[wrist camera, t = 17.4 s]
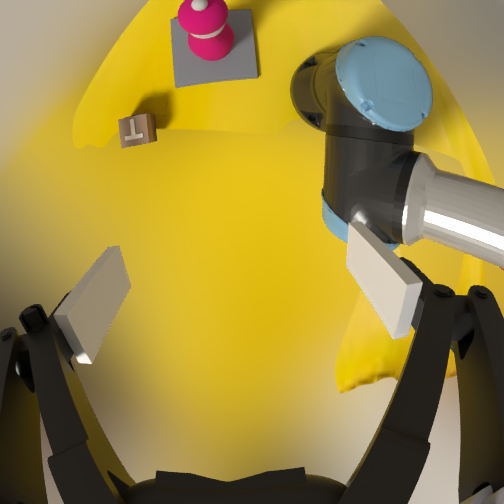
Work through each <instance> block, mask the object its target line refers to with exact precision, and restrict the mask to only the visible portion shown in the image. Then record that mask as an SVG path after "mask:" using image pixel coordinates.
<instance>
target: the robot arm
mask: <svg viewBox="0 0 504 504" xmlns="http://www.w3.org/2000/svg"><path fill="white" fill-rule="evenodd" d="M290 93H291V99H292V102H293V105H294V107H295V109H296V111H297V113H298V114H299V115H300V117H301V118H302V119H303V120H304V121H305V122H306V123H308V124H309V125H310V126H312V127H313V128H315V129H317V130H320V131H323V132H326V140H325V166H324V186H323V189H322V192H321V196H322V200H323V208H322V210H323V211H322V216H323V220H324V222H325V224H326V226H327V228H328V229H329V230H330V231H331V232H332V233H333V234H334V235H335V236H336V237H338V238H339V239H341V240H343V241H344V242H346V243H348V245H347V260H346V267H347V268H348V270H349V271H350V272H351V274H352V275H353V277H354V278H355V280H356V281H357V283H358V284H359V286H360V287H361V289H362V291H363V292H364V294H365V295H366V297H367V298H368V300H369V301H370V303H371V304H372V306H373V308H374V309H375V311H376V312H377V314H378V315H379V317H380V319H381V320H382V322H383V324H384V325H385V327H386V328H387V330H388V332H389V333H390V335H391V337H392V338H393V339H398V338H402V337H406V336H408V334H409V331H410V328H411V325H412V327H413V328H414V329H415V334H414V337H413V340H412V343H411V346H410V349H409V353H408V356H407V358H406V361H405V364H404V367H403V370H402V372H401V375H400V378H399V380H398V383H397V385H396V388H395V390H394V393H393V395H392V398H391V400H390V402H389V405H388V407H387V409H386V411H385V414H384V416H383V418H382V420H381V422H380V424H379V427H378V429H377V431H376V433H375V435H374V437H373V439H372V441H371V443H370V444H369V446H368V448H367V450H366V452H365V454H364V456H363V458H362V459H361V461H360V463H359V464H358V466H357V468H356V469H355V471H354V473H353V474H352V476H351V477H350V479H349V481H348V482H347V484H346V485H344V484H342V483H340V482H338V481H336V480H333V479H330V478H326V477H322V476H318V475H308V474H305V469H304V467H300V468H294V469H286V470H278V471H267V472H264V473H261V474H257V475H254V476H250V477H247V478H243V479H239V480H235V481H231V482H225V481H219V480H216V479H211V478H206V477H202V476H199V475H195V474H191V473H178V472H166V471H156V478H155V479H150V480H146V481H142V482H140V483H135V481H134V480H133V479H132V478H131V477H130V476H129V474H128V473H127V471H126V470H125V468H124V466H123V465H122V463H121V461H120V460H119V458H118V457H117V455H116V453H115V451H114V450H113V448H112V446H111V444H110V442H109V441H108V439H107V437H106V435H105V433H104V431H103V429H102V428H101V426H100V424H99V422H98V419H97V417H96V415H95V413H94V411H93V409H92V407H91V405H90V403H89V400H88V398H87V396H86V394H85V391H84V389H83V387H82V384H81V382H80V379H79V377H78V374H77V371H76V369H75V366H74V364H73V362H72V361H71V357H72V356H73V354H74V355H75V357H76V358H77V360H78V362H79V363H88V364H92V363H93V361H94V358H95V356H96V354H97V352H98V350H99V348H100V346H101V344H102V342H103V340H104V338H105V336H106V334H107V332H108V329H109V327H110V326H111V323H112V321H113V320H114V318H115V316H116V314H117V312H118V310H119V308H120V306H121V304H122V302H123V300H124V299H125V297H126V295H127V293H128V291H129V289H130V287H131V284H130V281H129V278H128V274H127V271H126V268H125V265H124V261H123V258H122V254H121V251H120V247H119V246H112V247H108V248H107V249H106V250H105V251H104V252H103V253H102V255H101V256H100V257H99V258H98V259H97V260H96V262H95V263H94V264H93V265H92V266H91V268H90V269H89V270H88V271H87V272H86V273H85V275H84V276H83V277H82V278H81V280H80V281H79V282H78V283H77V284H76V286H75V287H74V288H73V289H72V290H71V291H70V292H69V293H67V294H66V295H65V296H64V298H63V299H62V300H61V302H60V303H59V304H58V307H56V308H55V310H54V311H53V312H52V313H51V315H50V316H49V318H47V316H46V313H45V311H44V310H43V307H42V306H41V305H40V304H34V305H31V306H30V307H27V308H26V309H25V310H24V311H22V312H21V314H20V316H19V319H20V321H21V323H22V325H23V327H24V329H25V331H26V332H27V334H23V335H19V334H18V332H17V330H16V329H15V328H14V327H11V328H7V329H4V330H3V331H1V333H0V504H48V500H47V494H46V487H45V480H44V473H43V464H42V453H41V435H40V412H41V416H42V419H43V423H44V427H45V430H46V434H47V437H48V440H49V443H50V446H51V449H52V452H53V455H52V456H50V457H49V458H48V464H49V468H50V471H51V473H52V476H53V478H54V481H55V483H56V486H57V488H58V491H59V493H60V495H61V498H62V500H63V502H64V504H408V502H409V500H410V497H411V495H412V493H413V491H414V489H415V486H416V484H417V482H418V480H419V477H420V474H421V472H422V470H423V467H424V464H425V462H426V459H427V456H428V454H429V450H430V443H429V442H428V438H429V434H430V432H431V428H432V425H433V422H434V418H435V415H436V412H437V408H438V404H439V400H440V396H441V392H442V388H443V383H444V379H445V374H446V369H447V363H448V358H449V352H450V345H451V341H452V342H453V349H454V355H455V362H456V370H457V379H458V389H459V402H460V425H461V447H460V450H461V451H460V471H459V488H458V492H459V504H504V318H503V316H502V313H501V311H500V308H499V306H498V304H497V302H496V299H495V297H494V295H493V294H492V292H491V291H490V290H489V289H487V288H486V287H484V286H479V285H474V286H471V287H470V289H469V291H468V294H467V295H455V292H454V291H453V290H452V289H451V288H449V287H448V286H445V285H441V284H433V283H432V282H431V281H430V280H429V279H428V278H427V276H425V274H424V273H422V272H421V271H420V270H419V269H418V268H417V267H416V266H415V265H414V264H413V263H412V262H411V261H409V260H407V259H405V258H404V257H401V258H399V257H398V256H397V255H396V254H395V253H394V252H393V250H394V249H396V248H397V247H398V246H399V245H400V244H404V245H408V246H410V245H412V244H414V243H415V242H417V241H419V240H420V239H428V240H431V241H434V242H437V243H439V244H442V245H445V246H448V247H450V248H453V249H456V250H458V251H461V252H464V253H466V254H469V255H472V256H474V257H477V258H479V259H482V260H484V261H487V262H489V263H492V264H494V265H497V266H499V267H501V268H504V189H502V188H499V187H496V186H493V185H490V184H487V183H484V182H481V181H478V180H475V179H471V178H468V177H464V176H461V175H458V174H454V173H450V172H447V171H443V170H440V169H438V168H437V167H436V166H435V165H434V163H433V162H432V160H431V159H430V157H429V156H428V155H427V154H425V153H421V152H416V151H414V149H413V146H414V131H415V128H416V127H418V126H419V125H420V124H422V123H423V119H424V118H426V117H428V115H429V113H430V110H431V107H432V101H433V93H432V86H431V82H430V79H429V76H428V74H427V72H426V70H425V68H424V66H423V65H422V63H421V62H420V61H418V60H417V59H416V58H415V56H414V54H413V53H412V52H411V51H410V50H409V49H408V48H406V47H405V46H403V45H402V44H400V43H398V42H397V41H394V40H392V39H389V38H386V37H380V36H369V37H364V38H361V39H359V40H354V41H351V42H349V43H347V44H346V45H345V46H343V47H342V48H341V49H339V50H338V51H336V52H335V53H321V54H317V55H314V56H312V57H310V58H308V59H307V60H305V61H304V62H303V63H302V64H301V65H300V66H299V67H298V68H297V70H296V71H295V73H294V75H293V77H292V81H291V87H290Z"/></svg>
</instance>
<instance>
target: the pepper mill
mask: <svg viewBox="0 0 504 504" xmlns="http://www.w3.org/2000/svg"><path fill="white" fill-rule="evenodd" d="M227 18H228V8H227V5H226V3H225V2H224V0H185V1H184V2H183V3H182V4H181V6H180V8H179V10H178V22H179V24H180V25H181V27H182V28H183V29H184V30H185V31H187V32H188V33H189V34H188V45H189V48H190V50H191V51H192V52H193V53H194V54H195V55H197V56H199V57H200V58H202V59H204V60H207V61H217V60H220V59H222V58H224V57H225V56H226V55H227V54H228V53H229V52H230V50H231V47H232V45H233V43H234V33H233V30H232V28H231V27H230V25H229V24H227V23H226V20H227Z"/></svg>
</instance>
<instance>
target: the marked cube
mask: <svg viewBox="0 0 504 504" xmlns="http://www.w3.org/2000/svg"><path fill="white" fill-rule="evenodd" d="M118 122H119V131H120V139H121V147H122V148H125V147H130V146H135V145H141V144H146V143H151V142H154V141H157V135H156V127H155V117H154V114H139V115H134V116H130V117H125V118H123V119H119V120H118Z"/></svg>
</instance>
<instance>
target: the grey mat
mask: <svg viewBox="0 0 504 504" xmlns="http://www.w3.org/2000/svg"><path fill="white" fill-rule="evenodd" d="M226 23H227V24H229V25H230V27H231V28H232V30H233V33H234V43H233V45H232V47H231V50H230V52H229V53H228V54H227V55H226V56H225V57H224V58H222V59H220V60H217V61H207V60H204V59H202V58H200V57H199V56H197V55H195V54H194V53H193V52H192V51H191V50H190V48H189V45H188V34H189V33H188V32H187V31H185V30H184V29H183V28H182V27H181V25H180V24H179V22H178V18H174V19H171V37H172V53H173V66H174V78H175V88H179V87H185V86H191V85H198V84H205V83H212V82H221V81H230V80H241V79H254V78H258V75H257V65H256V54H255V44H254V35H253V25H252V16H251V9H243V10H230V11H228V18H227V20H226Z"/></svg>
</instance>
